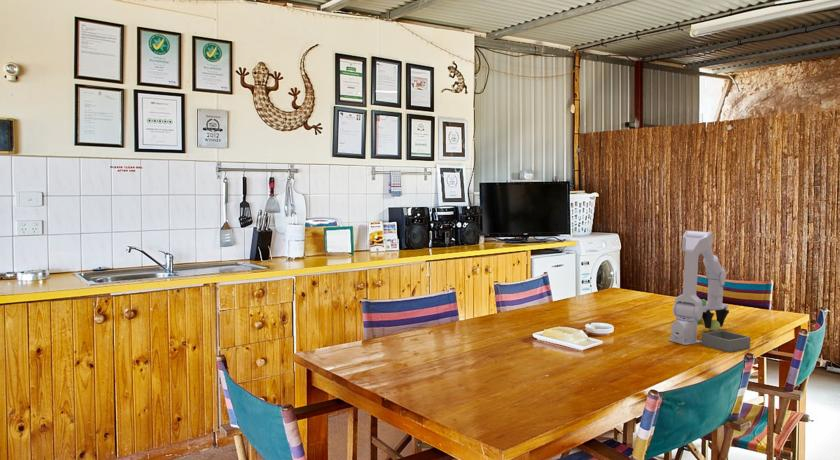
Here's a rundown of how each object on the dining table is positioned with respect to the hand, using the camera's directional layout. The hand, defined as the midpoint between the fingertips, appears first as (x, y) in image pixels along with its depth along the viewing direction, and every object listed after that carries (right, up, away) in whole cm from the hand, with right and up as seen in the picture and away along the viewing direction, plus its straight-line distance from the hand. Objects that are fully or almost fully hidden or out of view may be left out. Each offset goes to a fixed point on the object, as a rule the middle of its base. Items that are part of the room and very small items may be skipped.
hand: (713, 327), depth 266 cm
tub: (-7, -4, -25) cm, 26 cm away
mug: (0, 0, +17) cm, 17 cm away
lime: (0, -2, 0) cm, 2 cm away
